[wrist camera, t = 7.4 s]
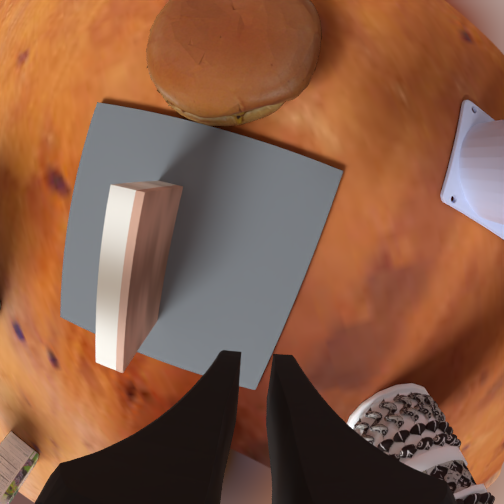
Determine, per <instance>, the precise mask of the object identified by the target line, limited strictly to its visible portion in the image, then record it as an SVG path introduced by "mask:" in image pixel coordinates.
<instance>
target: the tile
mask: <svg viewBox="0 0 504 504" xmlns="http://www.w3.org/2000/svg"><path fill="white" fill-rule="evenodd" d="M182 190H183V186H179V185H175V184H171V183H166V182H162V181H145V182H132V183H121V184H111V186H110V191H109V196H108V202H107V208H106V214H105V221H104V228H103V235H102V243H101V252H100V261H99V272H98V285H97V302H96V362H97V363H99V364H101V365H104V366H106V367H109V368H111V369H114V370H116V371H119V372H121V373H123V372H124V371H125V369H126V367H127V366H128V364H129V363H130V361H131V360H132V358H133V357H134V355H135V354H136V352H137V351H138V349H139V348H140V346H141V345H142V343H143V342H144V340H145V339H146V337H147V336H148V334H149V333H150V331H151V330H152V328H153V327H154V325H155V324H156V322H157V320H158V313H159V306H160V300H161V294H162V288H163V282H164V276H165V271H166V265H167V260H168V255H169V250H170V245H171V240H172V235H173V230H174V225H175V221H176V216H177V212H178V207H179V203H180V198H181V194H182Z"/></svg>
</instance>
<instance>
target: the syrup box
mask: <svg viewBox="0 0 504 504" xmlns="http://www.w3.org/2000/svg"><path fill="white" fill-rule="evenodd" d="M38 456H39V454H38V453H37V452H36V451H34V450H33V449H32V448H31V447H29V446H28V445H27V444H26V443H25V442H23V441H22V440H21V439H20V438H18V437H17V436H16V435H15V434H14V433H13V432H12V431H10V432H9V434H8V435H7V436H6V437H5V438H4V440H3V441H2V442H1V443H0V504H9V503H10V502H11V501H12V499H13V498H14V496H15V495H16V493H17V492H18V490H19V489H20V487H21V486H22V484H23V483H24V481H25V480H26V478H27V477H28V475H29V474H30V472H31V471H32V469H33V467H34V466H35V464H36V462H37V460H38Z"/></svg>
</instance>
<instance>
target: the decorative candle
mask: <svg viewBox="0 0 504 504" xmlns="http://www.w3.org/2000/svg"><path fill="white" fill-rule="evenodd" d="M347 424H348V425H349V426H350V427H351V428H352V429H353V430H354V431H356V432H357V433H358V434H359V435H360V436H362V437H363V438H364V439H366V440H367V441H368V442H370V443H371V444H373V445H374V446H376V447H377V448H378V449H380V450H381V451H383V452H384V453H386V454H388V455H389V456H391V457H393V458H394V459H396V460H398V461H400V462H402V463H404V464H406V465H408V466H410V467H412V468H414V469H416V470H418V471H421V472H423V473H426V474H428V475H431V476H433V477H436V478H439V479H441V480H444V481H446V482H447V483H448V485H449V487H450V489H451V491H452V493H453V495H454V497H455V499H456V502H457V504H493V502H494V500H495V497H494V496H492V495H491V493H489V492H487V490H486V488H485V486H484V484H479V485H476V483H475V481H474V479H473V477H472V475H471V474H470V472H469V470H468V468H467V462H466V460H465V458H464V456H463V455H462V453H461V451H460V448H459V447H460V445H461V441H460V440H459V439H457V436H456V435H454V434H452V433H453V429H452V427H449V423H448V422H445V415H444V413H443V412H441V410H440V409H439V408H438V405H437V403H436V402H435V401H434V400H433V398H432V397H431V396H430V395H429V394H428V392H427V391H426V389H425V388H424V387H423V386H420V385H417V384H414V383H408V384H399V385H394V386H392V387H389V388H387V389H384V390H382V391H379V392H377V393H376V394H374V395H373V396H371V397H370V398H368V399H367V400H365V401H364V402H362V403H361V404H360V405H359V406H358V407H357V409H356V410H355V411H354V412H353V413H352V414H351V415H350V416H349V419H348V422H347ZM445 432H446V433H445Z"/></svg>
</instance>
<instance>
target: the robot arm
mask: <svg viewBox="0 0 504 504" xmlns="http://www.w3.org/2000/svg"><path fill="white" fill-rule="evenodd" d="M472 109H473V111H474V113H473V111H472ZM440 196H441V200H442V201H443V202H444V203H446V204H447V205H449V206H451V207H453V208H454V209H456V210H458V211H459V212H461V213H463V214H464V215H466V216H468V217H469V218H471V219H473V220H474V221H476V222H477V223H479V224H481V225H482V226H484V227H485V228H487V229H488V230H490V231H491V232H493V233H494V234H496V235H497V236H499V237H500V238H502V239H503V240H504V120H497V121H495V120H494V119H492V118H491V117H490V116H489V115H488V114H486V113H485V112H484V111H483V110H481V109H480V108H479V107H478V106H476V105H475V104H474V103H472V102H471V101H470V100H464V101H463V102H462V106H461V111H460V117H459V122H458V127H457V132H456V137H455V141H454V146H453V150H452V154H451V158H450V162H449V166H448V169H447V173H446V177H445V180H444V184H443V187H442V190H441V195H440ZM452 196H453V201H452V202H451V197H452ZM240 365H241V352H238V351H228V350H222V351H221V352H219V354H218V356H217V357H216V359H215V360H214V362H213V363H212V365H211V366H210V367H209V369H208V370H207V371H206V373H205V374H204V375H203V376H202V377H201V378H200V380H199V381H198V382H197V383H196V384H195V385H194V386H193V387H192V389H191V390H190V391H188V392H187V393H186V394H185V395H184V396H183V397H182V398H181V399H180V400H179V401H178V402H177V403H176V404H175V405H174V406H173V407H171V408H170V409H169V410H168V411H167V412H165V413H164V414H163V415H162V416H160V417H159V418H158V419H156V420H155V421H153V422H152V423H150V424H149V425H147V426H146V427H144V428H143V429H141V430H140V431H138V432H136V433H135V434H133V435H131V436H129V437H128V438H126V439H124V440H122V441H120V442H118V443H115V444H113V445H111V446H109V447H107V448H105V449H103V450H100V451H98V452H95V453H93V454H90V455H87V456H84V457H80V458H77V459H74V460H71V461H67V462H63V463H60V464H59V466H58V467H57V468H56V469H55V471H54V472H53V473H52V474H51V476H50V477H49V479H48V481H47V482H46V484H45V486H44V488H43V489H42V491H41V493H40V495H39V496H38V498H37V500H36V502H35V504H220V500H221V490H222V483H223V477H224V472H225V468H226V463H227V459H228V454H229V450H230V446H231V441H232V437H233V432H234V428H235V423H236V414H237V404H238V392H239V378H240ZM266 426H267V436H268V446H269V455H270V465H271V474H272V504H457V502H456V499H455V497H454V495H453V493H452V491H451V489H450V487H449V485H448V483H447V482H446V481H444V480H441V479H439V478H436V477H433V476H431V475H428V474H426V473H423V472H421V471H418V470H416V469H414V468H412V467H410V466H408V465H406V464H404V463H402V462H400V461H398V460H396V459H394V458H393V457H391V456H389V455H388V454H386V453H384V452H383V451H381V450H380V449H378V448H377V447H376V446H374V445H373V444H371V443H370V442H368V441H367V440H366V439H364V438H363V437H362V436H360V435H359V434H358V433H357V432H356V431H354V430H353V429H352V428H351V427H350V426H349V425H348V424H346V423H345V422H344V421H343V420H342V419H341V418H340V417H339V416H338V415H337V414H336V413H335V411H334V410H333V409H332V408H331V407H330V406H329V405H328V404H327V403H326V401H325V400H324V399H323V398H322V397H321V395H320V394H319V393H318V391H317V390H316V389H315V388H314V386H313V385H312V384H311V382H310V381H309V379H308V378H307V377H306V375H305V374H304V372H303V371H302V369H301V368H300V366H299V364H298V363H297V361H296V359H295V358H294V357H293V356H292V355H280V354H273V361H272V368H271V375H270V382H269V389H268V396H267V417H266Z"/></svg>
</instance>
